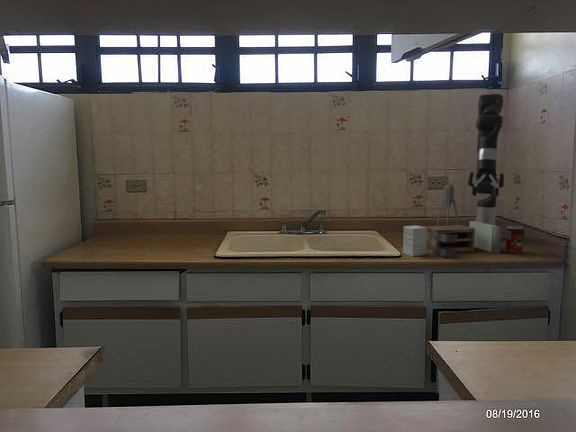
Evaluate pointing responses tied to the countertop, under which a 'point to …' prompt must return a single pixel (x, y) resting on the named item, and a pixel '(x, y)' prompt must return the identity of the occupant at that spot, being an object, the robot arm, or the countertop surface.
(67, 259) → the countertop surface
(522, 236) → the soda can
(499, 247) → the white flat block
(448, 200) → the citrus juicer
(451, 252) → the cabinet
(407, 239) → the supplement box
